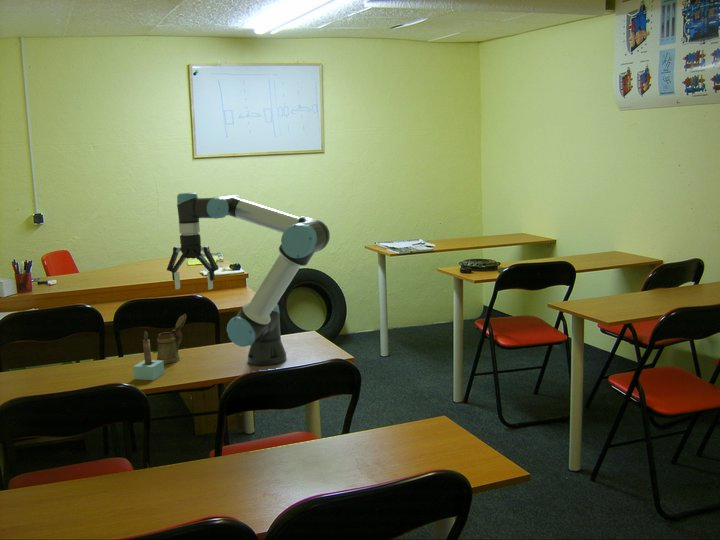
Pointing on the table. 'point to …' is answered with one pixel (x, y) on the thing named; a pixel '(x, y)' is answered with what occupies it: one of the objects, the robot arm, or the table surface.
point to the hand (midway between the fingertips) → (194, 289)
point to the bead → (148, 370)
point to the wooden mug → (170, 343)
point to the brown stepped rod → (147, 349)
